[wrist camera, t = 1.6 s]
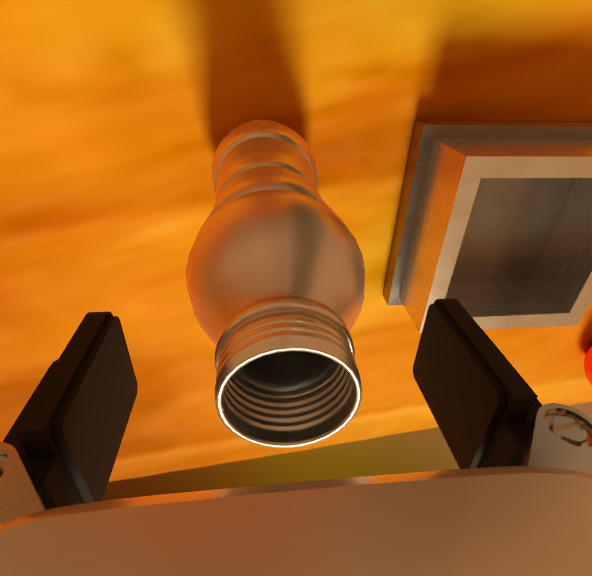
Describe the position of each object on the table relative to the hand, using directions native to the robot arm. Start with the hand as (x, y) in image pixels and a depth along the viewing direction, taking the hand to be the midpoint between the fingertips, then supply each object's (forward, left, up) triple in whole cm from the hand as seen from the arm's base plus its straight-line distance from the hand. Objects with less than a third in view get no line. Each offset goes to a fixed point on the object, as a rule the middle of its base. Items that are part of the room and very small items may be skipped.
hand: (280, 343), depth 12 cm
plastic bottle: (-1, 0, -18) cm, 18 cm away
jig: (+3, +17, -17) cm, 25 cm away
